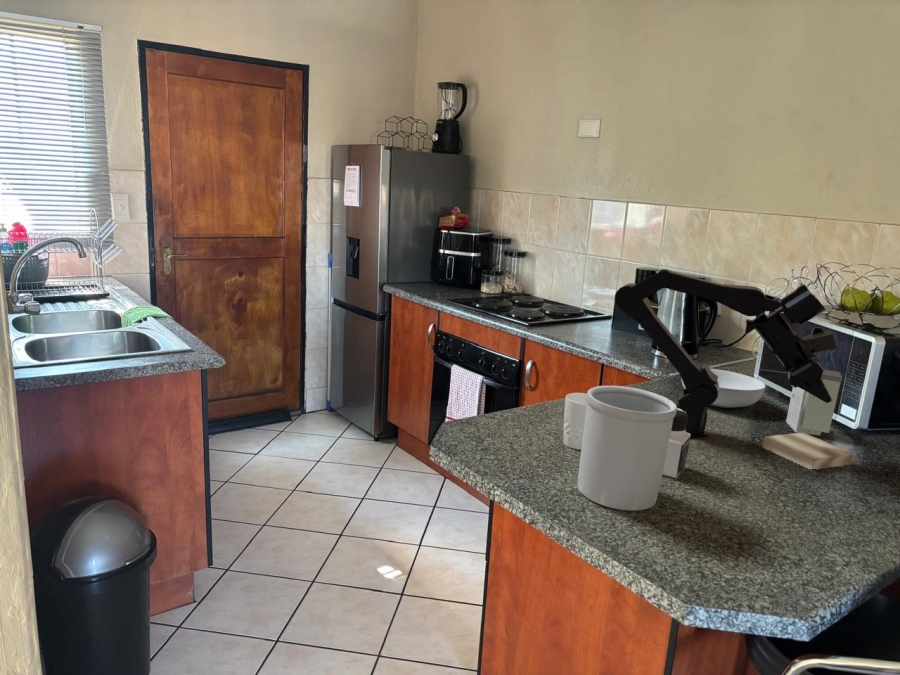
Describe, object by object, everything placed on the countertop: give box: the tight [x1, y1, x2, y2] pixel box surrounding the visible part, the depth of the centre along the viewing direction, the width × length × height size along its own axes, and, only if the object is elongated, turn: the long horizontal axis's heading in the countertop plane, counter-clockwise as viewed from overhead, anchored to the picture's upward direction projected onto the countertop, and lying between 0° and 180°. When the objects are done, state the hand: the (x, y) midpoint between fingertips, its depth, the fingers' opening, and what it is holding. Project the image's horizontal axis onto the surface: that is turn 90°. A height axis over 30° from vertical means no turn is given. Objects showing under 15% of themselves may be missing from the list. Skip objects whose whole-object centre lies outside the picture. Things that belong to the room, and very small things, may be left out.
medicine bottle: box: [662, 408, 692, 479], centre depth 126 cm, size 7×7×12 cm
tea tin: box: [800, 368, 843, 434], centre depth 137 cm, size 5×5×12 cm
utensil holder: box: [577, 385, 677, 512], centre depth 113 cm, size 15×15×18 cm
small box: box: [785, 385, 822, 437], centre depth 157 cm, size 8×6×10 cm
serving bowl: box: [680, 368, 767, 409], centre depth 173 cm, size 21×21×7 cm
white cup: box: [562, 392, 588, 451], centre depth 135 cm, size 8×8×10 cm
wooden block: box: [762, 432, 854, 471], centre depth 140 cm, size 12×12×3 cm
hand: (828, 398), depth 136 cm, fingers closed on tea tin, 5 cm apart
